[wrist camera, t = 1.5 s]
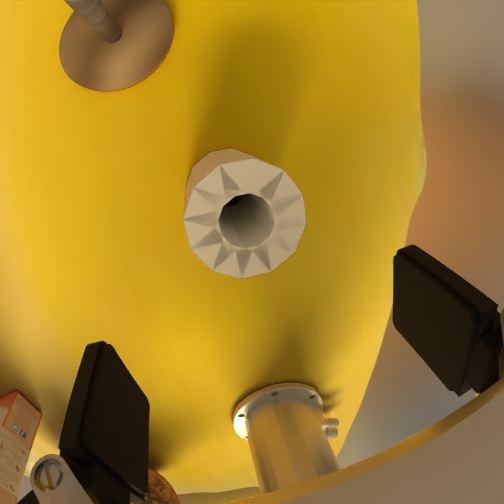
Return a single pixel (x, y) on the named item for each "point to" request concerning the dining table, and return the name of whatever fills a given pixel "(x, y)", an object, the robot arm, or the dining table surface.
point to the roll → (242, 213)
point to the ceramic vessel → (159, 490)
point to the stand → (115, 42)
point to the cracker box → (15, 443)
